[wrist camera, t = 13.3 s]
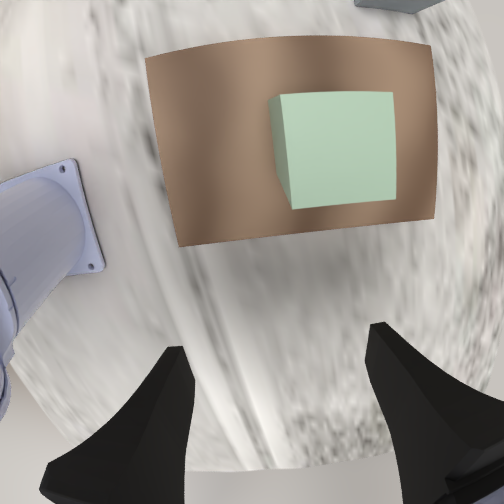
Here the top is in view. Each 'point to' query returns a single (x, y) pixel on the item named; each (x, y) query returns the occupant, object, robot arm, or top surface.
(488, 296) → the top surface
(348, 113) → the sage block
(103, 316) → the top surface
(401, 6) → the slate block
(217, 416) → the top surface
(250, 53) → the walnut board
